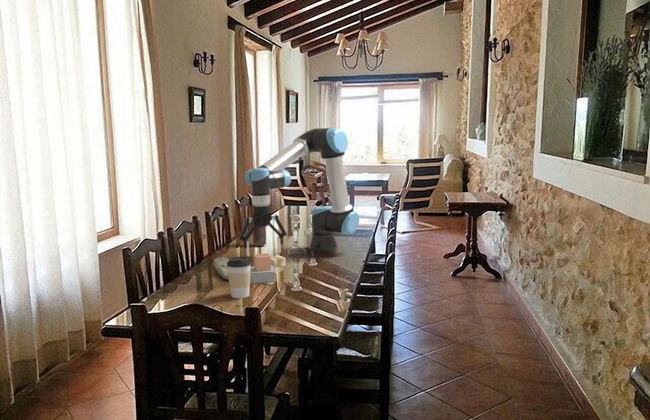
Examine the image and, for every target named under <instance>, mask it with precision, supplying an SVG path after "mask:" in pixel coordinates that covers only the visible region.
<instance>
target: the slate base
mask: <svg viewBox="0 0 650 420" xmlns="http://www.w3.org/2000/svg"><path fill="white" fill-rule="evenodd" d="M250 270H251V271H250V285H255V284H257V285H258V284H269V283H271V284H272V283H273V284H274V283H275V282H276V279H275V278H276V277H275V274H276V273H274V267H273V265H271V270H267V271H256V269H255V268H254V265H253V266H250Z"/></svg>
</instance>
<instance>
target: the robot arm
mask: <svg viewBox="0 0 650 420" xmlns="http://www.w3.org/2000/svg"><path fill="white" fill-rule="evenodd" d="M348 146H349V140H348V136H347V134H346V133H345V131H344V130H343V129H340V128H336V127H326V128H322V127H321V128H312V129H310V130H307V131H305V132H303V133H302V134H301V135H299V136H297V137H295V138H294V140H293V141H292V143H291V144H290V145H288V146H287V147H285V148H284V149H283V150H281V151H280V152H278V153H277V154H275V155H274V156H272V157H270V159H268V160H267V161H266V162H264V163H263V164H261V165H260V166H258V167H254V168H252V169H248V170H247V171H245V173H244V181H245V184H247V186H251V203H252V217H248V216H246V217H245V220H244V221H245V222H244V224H243V225H242V229H241V231H240V233H239V236H238V239H239V240H240V241H243V248H244V249H245V250H246V257H250V243H249V238H250V237H251V236H252V235H253V231H254V230H255V229H256V228H257V226H258V227H266V228H267V227H268V226H269V228H271V229H272V231H274V233H275V234H276V235H277V237H276V239H277V240H276V241H277V242H276V243H277V252H278V253H279V254H281V253H282V247H281V246H282V245H283V244H284V242H283V241H284V239H283V238H284V237H285V236H287V234H288V233H287V232H286V230H285V228H284V226H283V225H282V223H281V221H280V219H279V215H278V214H274V215H272V212H271V205H270V204H271V192H270V191H271V190H275V189H283V188H286V187H288V186H290V184H291V182H292V178H291V177H292V176H291V174H290V172H289V171H288V170H285V169H286V168H287V167H290V165H292V164H293V163H294V162H296V161H297V160H298V159H300V158H301V157H305V156H307V155H309V154H313V153H320V157H321V159H322V160H323V161H324V164H325V170H326V175H327V176H326V177H327V181H328V182H327V183H328V188H329V194H330V199H331V201H330V202H331V205H325V206H324V205H323V206H317V207H314V208H312V209H311V233H312V234H311V238H310V242H309V246H308V248H309V249H308V251H310V252H312V253H321V254H324V253H332V252H333V253H334V252H336V251H338V247H339V246H338V243H337V240H336V236H335V233H338V234H342V235H351V234H353V233H355V232H356V230H357V229H358V227H359V224H360V215H359V213H358V212H356V211H354V207H353V205H352V204H350V201H349V193H348V188H347V180H346V175H345V173H346V172H345V168H344V161H343V157H344V156H345V152H346V151H347V149H348ZM272 220H273V221H275V223H276V224H277V226H278V228H279V230H280V231H281V232H280V231H279V230H278V229H277V228H276V227H275V226H274V225H273V224H272V223H271V222H272ZM251 222H252V225H251V227H250V228H249V224H250V223H251ZM253 222H254V224H253ZM248 228H249V230H248V231H247V229H248Z"/></svg>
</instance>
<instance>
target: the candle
mask: <svg viewBox="0 0 650 420" xmlns="http://www.w3.org/2000/svg"><path fill="white" fill-rule="evenodd" d="M253 224H254V222H253V221H252V225H253ZM252 245H253V246H255V247H262V246H264V245H267V227H258V226H257V228H256V229H255V230H254V231H253V233H252Z"/></svg>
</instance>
